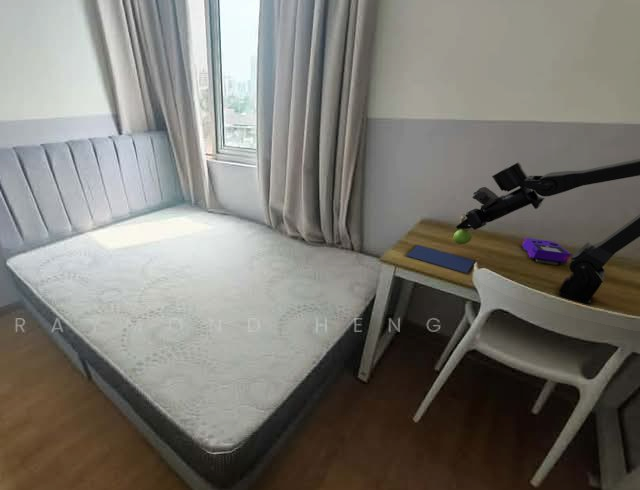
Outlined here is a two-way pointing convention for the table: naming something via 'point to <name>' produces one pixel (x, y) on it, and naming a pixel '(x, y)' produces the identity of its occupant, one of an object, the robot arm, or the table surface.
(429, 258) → the navy cloth
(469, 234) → the snail figurine
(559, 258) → the handheld gaming console
